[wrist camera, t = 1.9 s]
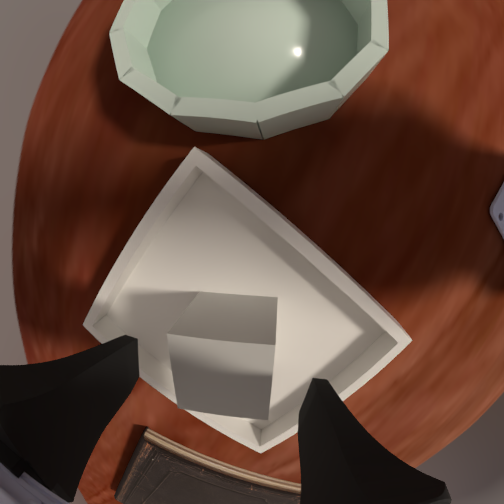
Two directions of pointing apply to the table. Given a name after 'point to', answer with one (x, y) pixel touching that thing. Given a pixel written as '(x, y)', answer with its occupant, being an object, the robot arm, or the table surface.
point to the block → (225, 354)
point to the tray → (242, 283)
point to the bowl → (248, 59)
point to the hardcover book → (194, 478)
